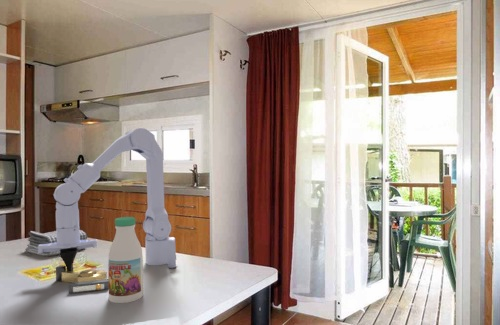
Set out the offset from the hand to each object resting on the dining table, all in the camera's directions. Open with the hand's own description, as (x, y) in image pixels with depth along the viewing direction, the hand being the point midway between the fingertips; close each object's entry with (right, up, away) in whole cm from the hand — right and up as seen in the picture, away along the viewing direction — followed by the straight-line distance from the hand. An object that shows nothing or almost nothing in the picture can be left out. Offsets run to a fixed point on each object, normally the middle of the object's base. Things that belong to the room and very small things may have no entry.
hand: (69, 275), depth 95 cm
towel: (-25, -3, +38) cm, 45 cm away
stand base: (+9, -2, -3) cm, 10 cm away
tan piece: (+5, -1, -4) cm, 6 cm away
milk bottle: (+21, -2, -14) cm, 25 cm away
